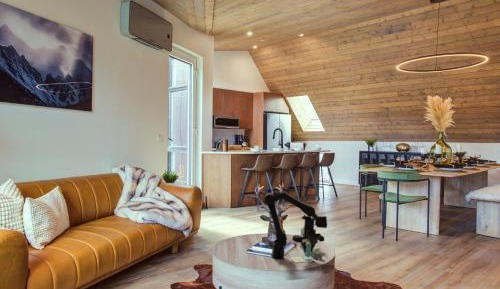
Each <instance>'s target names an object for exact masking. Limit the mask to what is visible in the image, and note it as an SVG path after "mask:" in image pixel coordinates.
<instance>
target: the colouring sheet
mask: <svg viewBox="0 0 500 289" xmlns="http://www.w3.org/2000/svg"><path fill="white" fill-rule="evenodd" d="M289 259H290V260H291V261H292V262H293V263H295V264H298V263H313V262H312V261H315V262H316V259H314V258H312V257H311V256H310V257H306V256H294V257H290V256H289Z"/></svg>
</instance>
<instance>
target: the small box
mask: <svg viewBox="0 0 500 289" xmlns="http://www.w3.org/2000/svg"><path fill="white" fill-rule="evenodd" d="M314 229H315V234H317V229H316V228H314ZM303 234H304V229H303V227H302V228H300V236H301V237H304V236H303ZM305 242H310V241H309V240H306V241H305ZM314 247H316V244H315V245H314ZM314 247H313V250H314ZM299 248H300V249H302V250H303V248H302V245H301V243H300V242H299Z"/></svg>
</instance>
